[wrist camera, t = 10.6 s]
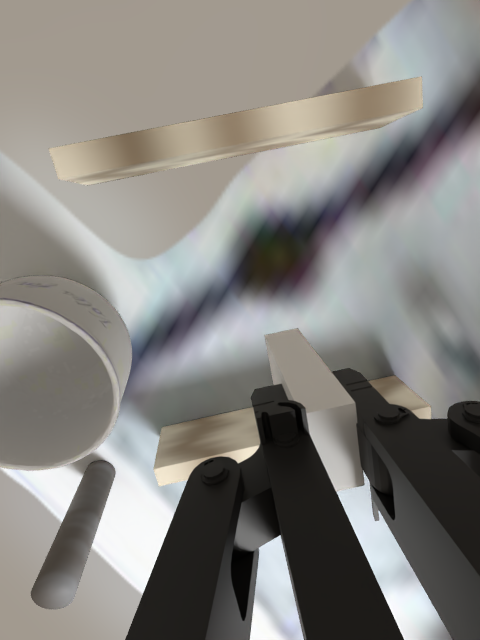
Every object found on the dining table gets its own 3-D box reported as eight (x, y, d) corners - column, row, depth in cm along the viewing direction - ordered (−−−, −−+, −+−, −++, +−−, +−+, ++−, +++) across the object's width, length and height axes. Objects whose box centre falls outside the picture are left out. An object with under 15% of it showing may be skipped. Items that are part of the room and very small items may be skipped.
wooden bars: (375, 56, 23) (497, -54, 13) (397, 417, 31) (482, 507, 22) (-50, 137, 22) (-244, 80, 12) (91, 487, 30) (39, 613, 21)
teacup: (144, 271, 25) (115, 307, 17) (143, 404, 29) (119, 480, 21) (-71, 254, 23) (-204, 285, 16) (-43, 396, 27) (-140, 475, 20)
